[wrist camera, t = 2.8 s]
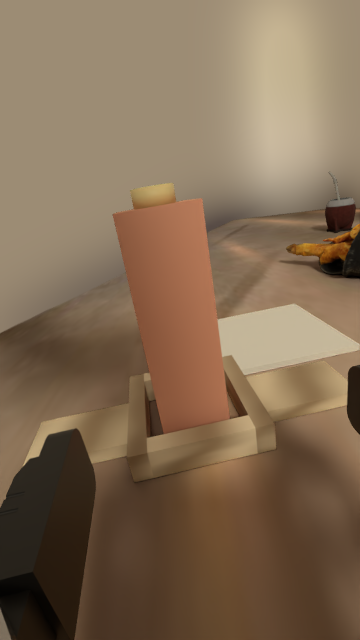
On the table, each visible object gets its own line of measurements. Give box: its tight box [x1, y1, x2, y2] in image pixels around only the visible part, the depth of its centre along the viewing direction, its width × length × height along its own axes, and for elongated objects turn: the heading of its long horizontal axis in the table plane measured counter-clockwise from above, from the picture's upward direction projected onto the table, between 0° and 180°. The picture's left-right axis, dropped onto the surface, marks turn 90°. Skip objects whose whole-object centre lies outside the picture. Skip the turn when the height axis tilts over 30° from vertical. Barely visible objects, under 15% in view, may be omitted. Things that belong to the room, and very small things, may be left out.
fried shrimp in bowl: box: [286, 224, 360, 276], centre depth 48 cm, size 9×11×18 cm
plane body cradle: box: [23, 355, 348, 483], centre depth 22 cm, size 23×9×2 cm, turn 98°
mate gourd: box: [325, 172, 356, 233], centre depth 80 cm, size 8×8×15 cm
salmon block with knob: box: [113, 183, 230, 434], centre depth 20 cm, size 4×4×16 cm
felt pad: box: [218, 304, 360, 375], centre depth 33 cm, size 12×12×1 cm
